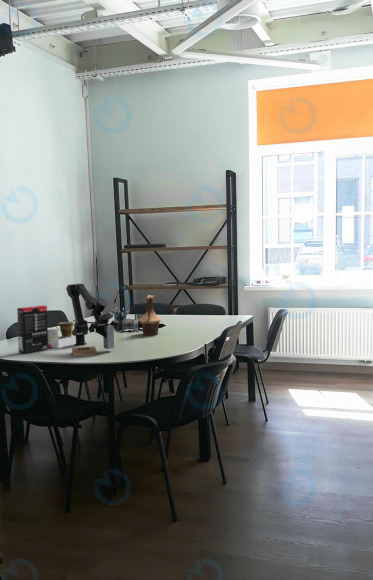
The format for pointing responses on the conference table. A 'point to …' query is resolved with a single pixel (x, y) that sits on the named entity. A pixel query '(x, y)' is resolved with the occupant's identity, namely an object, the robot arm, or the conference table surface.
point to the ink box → (53, 337)
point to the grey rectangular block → (108, 337)
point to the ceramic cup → (66, 328)
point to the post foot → (84, 351)
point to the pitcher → (150, 319)
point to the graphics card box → (32, 329)
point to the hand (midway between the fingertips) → (109, 337)
